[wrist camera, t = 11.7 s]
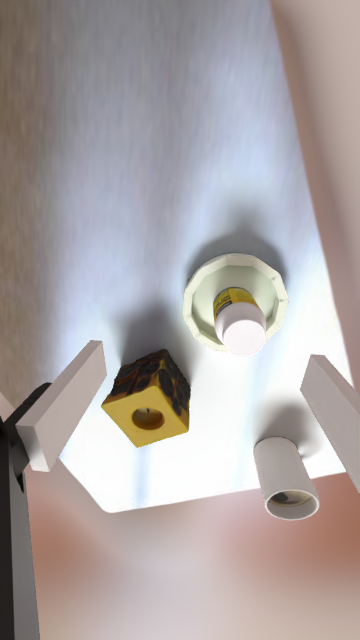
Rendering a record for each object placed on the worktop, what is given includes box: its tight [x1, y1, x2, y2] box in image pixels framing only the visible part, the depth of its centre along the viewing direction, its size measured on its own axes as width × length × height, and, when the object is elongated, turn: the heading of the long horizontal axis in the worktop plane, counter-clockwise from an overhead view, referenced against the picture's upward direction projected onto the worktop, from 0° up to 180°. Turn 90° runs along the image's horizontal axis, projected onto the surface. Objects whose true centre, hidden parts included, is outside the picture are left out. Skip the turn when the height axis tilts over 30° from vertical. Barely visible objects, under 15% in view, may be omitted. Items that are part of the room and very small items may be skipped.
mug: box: [253, 437, 319, 520], centre depth 44 cm, size 11×10×10 cm
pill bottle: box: [213, 286, 267, 357], centre depth 30 cm, size 6×6×11 cm
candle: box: [101, 349, 191, 448], centre depth 39 cm, size 10×10×10 cm
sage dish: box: [183, 253, 289, 352], centre depth 34 cm, size 15×15×3 cm
